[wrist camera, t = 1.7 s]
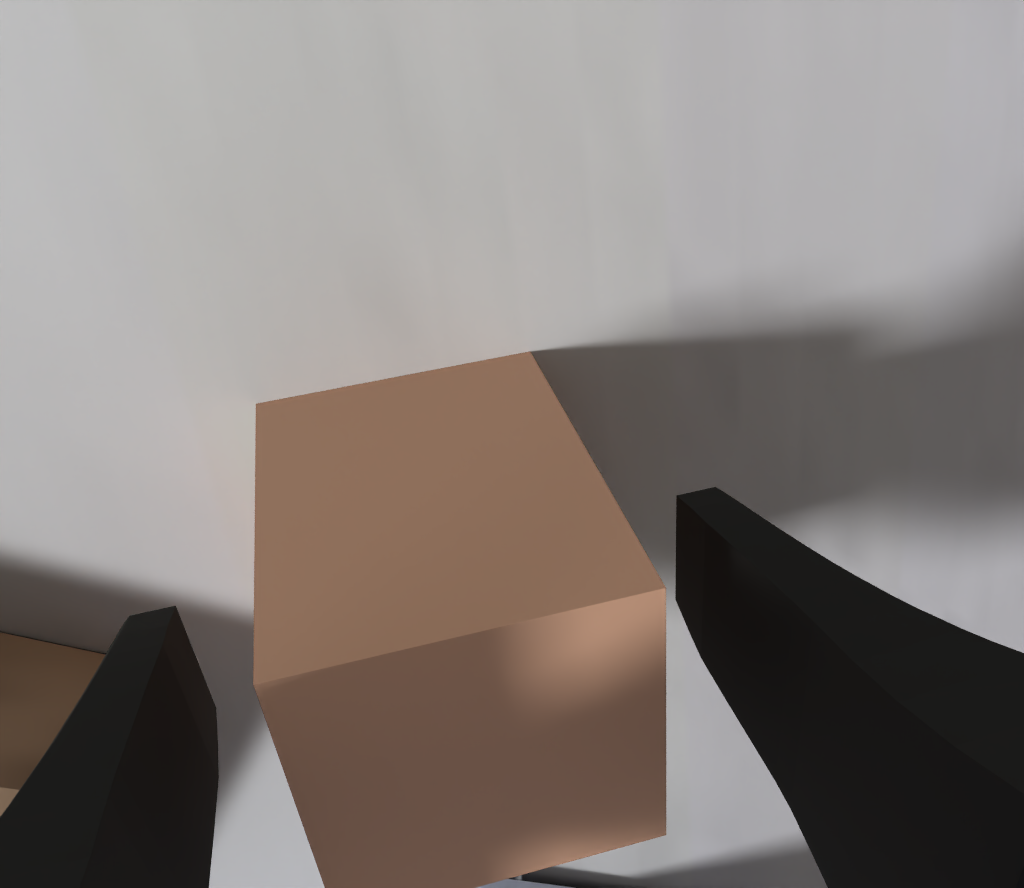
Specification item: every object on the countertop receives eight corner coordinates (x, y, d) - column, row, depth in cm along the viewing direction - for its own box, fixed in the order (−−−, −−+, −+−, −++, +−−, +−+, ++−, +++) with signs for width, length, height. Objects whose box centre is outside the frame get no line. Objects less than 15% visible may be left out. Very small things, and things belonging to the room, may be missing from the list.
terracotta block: (529, 350, 15) (666, 587, 10) (548, 558, 17) (666, 835, 12) (255, 402, 14) (252, 685, 9) (314, 612, 17) (338, 925, 12)
